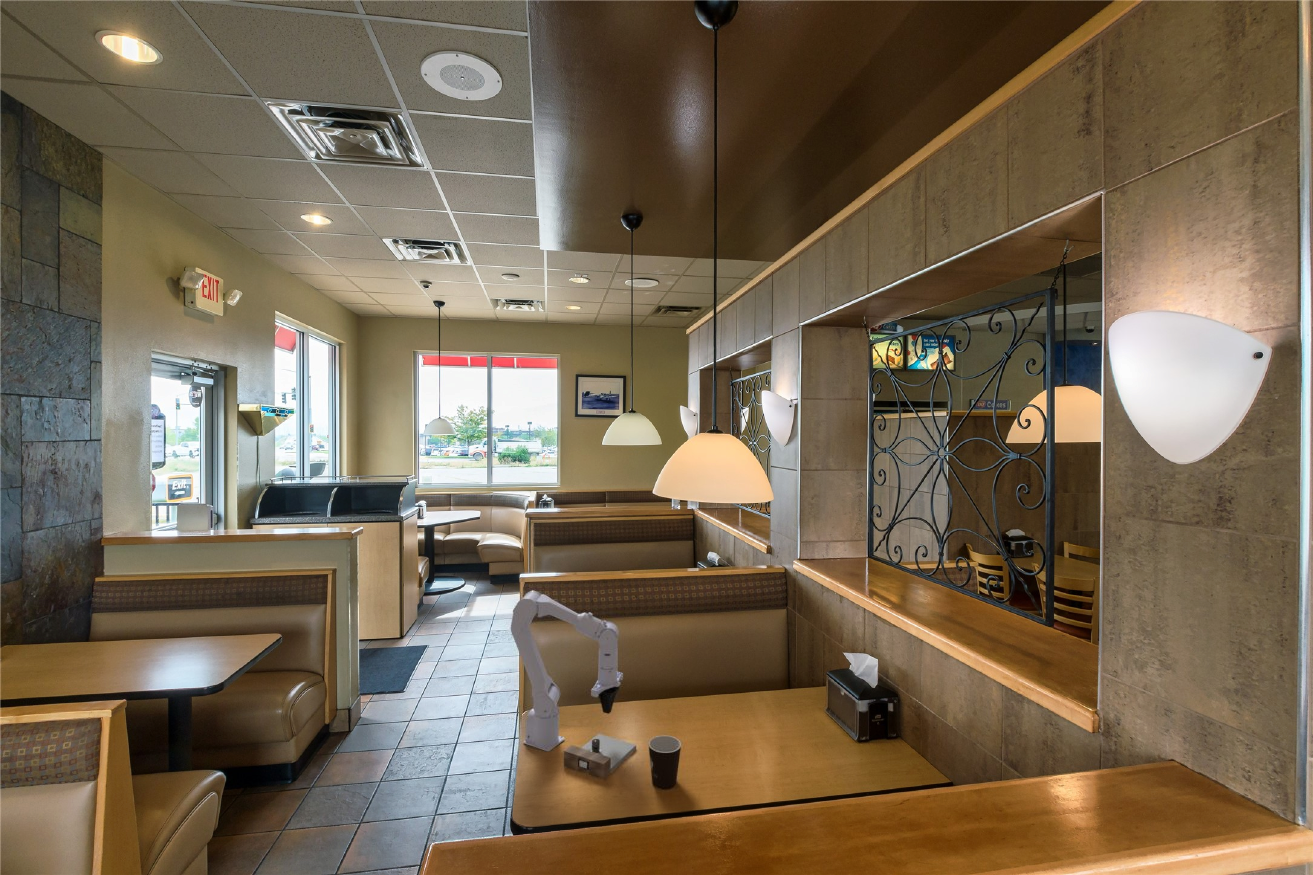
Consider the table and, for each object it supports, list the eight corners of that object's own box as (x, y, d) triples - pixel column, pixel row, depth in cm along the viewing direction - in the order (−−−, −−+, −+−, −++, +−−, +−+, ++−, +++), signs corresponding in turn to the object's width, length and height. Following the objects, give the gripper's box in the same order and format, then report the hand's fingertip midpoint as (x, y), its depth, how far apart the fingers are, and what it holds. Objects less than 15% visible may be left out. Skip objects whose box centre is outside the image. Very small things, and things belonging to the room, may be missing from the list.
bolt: (579, 766, 151) (579, 749, 151) (594, 753, 157) (594, 737, 157) (586, 768, 149) (587, 752, 150) (601, 755, 156) (601, 740, 156)
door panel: (571, 760, 156) (571, 748, 156) (598, 737, 169) (598, 726, 169) (610, 773, 150) (610, 761, 150) (636, 748, 163) (636, 737, 163)
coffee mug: (677, 794, 142) (678, 754, 142) (644, 789, 143) (645, 750, 143) (684, 768, 153) (685, 731, 153) (653, 764, 155) (654, 728, 155)
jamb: (563, 766, 153) (563, 750, 153) (571, 760, 156) (571, 744, 156) (603, 779, 147) (603, 763, 147) (610, 773, 150) (610, 757, 150)
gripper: (606, 677, 157) (605, 725, 157) (631, 660, 170) (630, 705, 170) (585, 672, 160) (584, 719, 160) (612, 656, 173) (611, 700, 173)
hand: (606, 712), depth 165 cm, fingers closed
